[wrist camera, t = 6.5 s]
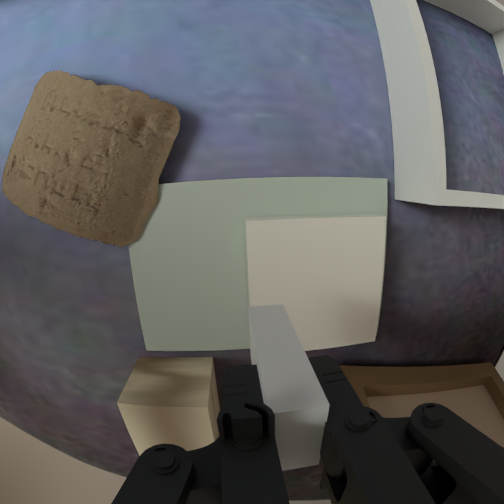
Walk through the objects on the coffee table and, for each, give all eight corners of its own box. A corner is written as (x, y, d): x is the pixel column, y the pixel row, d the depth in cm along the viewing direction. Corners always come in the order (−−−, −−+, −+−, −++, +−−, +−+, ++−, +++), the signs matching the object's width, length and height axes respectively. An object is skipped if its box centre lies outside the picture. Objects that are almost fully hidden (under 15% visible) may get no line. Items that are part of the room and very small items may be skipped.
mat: (148, 346, 21) (146, 350, 21) (126, 187, 18) (123, 187, 18) (374, 330, 22) (377, 334, 21) (383, 178, 19) (387, 178, 19)
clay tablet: (190, 111, 17) (180, 99, 14) (132, 254, 19) (115, 263, 16) (41, 73, 16) (23, 64, 13) (1, 186, 17) (-20, 188, 15)
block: (154, 409, 23) (140, 457, 17) (139, 356, 21) (116, 402, 16) (220, 410, 23) (218, 461, 17) (212, 356, 22) (207, 407, 16)
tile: (252, 355, 19) (375, 341, 20) (245, 220, 17) (386, 216, 18) (250, 342, 21) (365, 330, 21) (244, 217, 19) (374, 213, 19)
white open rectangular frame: (394, 199, 20) (434, 205, 15) (362, -26, 15) (383, -55, 10) (520, 206, 21) (554, 213, 16) (494, 30, 16) (521, 19, 11)
